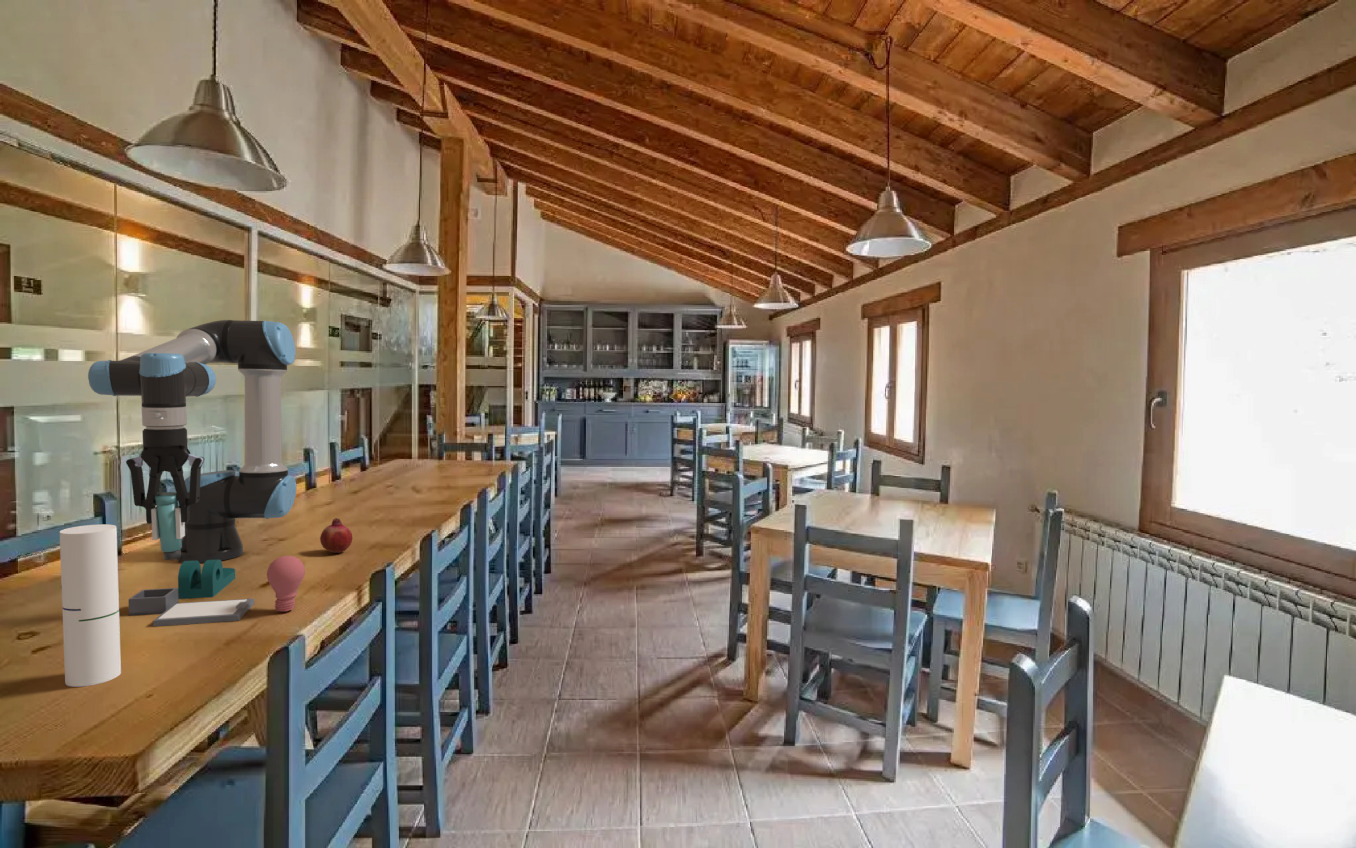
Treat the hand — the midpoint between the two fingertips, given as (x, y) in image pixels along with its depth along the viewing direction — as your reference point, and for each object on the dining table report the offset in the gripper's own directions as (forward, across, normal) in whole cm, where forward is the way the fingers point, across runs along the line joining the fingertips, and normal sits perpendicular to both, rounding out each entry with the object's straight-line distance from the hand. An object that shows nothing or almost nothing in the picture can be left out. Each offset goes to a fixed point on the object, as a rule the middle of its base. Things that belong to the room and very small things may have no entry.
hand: (168, 537), depth 148 cm
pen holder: (+16, -4, +2) cm, 16 cm away
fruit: (+17, +26, +44) cm, 54 cm away
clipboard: (+16, +8, -5) cm, 18 cm away
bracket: (+17, +2, +17) cm, 24 cm away
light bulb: (+16, +23, -6) cm, 29 cm away
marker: (+5, 0, +2) cm, 5 cm away
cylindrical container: (+15, 0, -34) cm, 38 cm away
